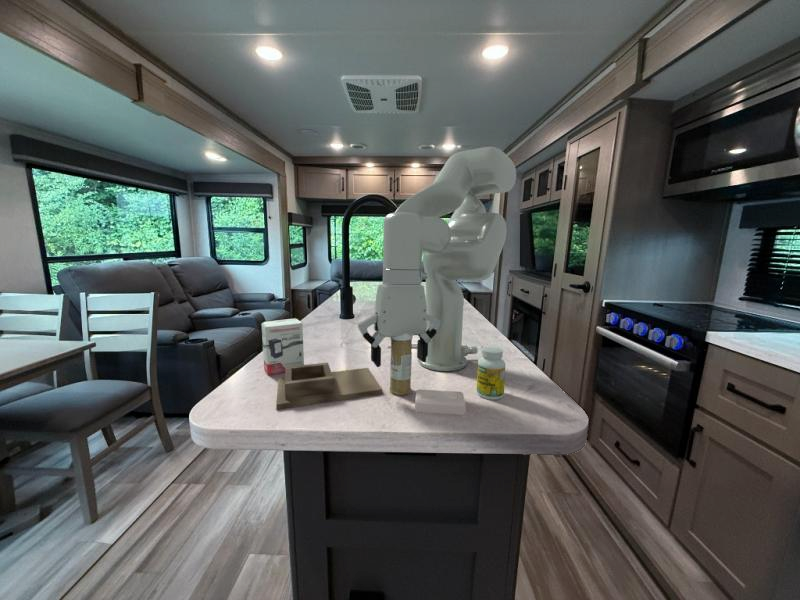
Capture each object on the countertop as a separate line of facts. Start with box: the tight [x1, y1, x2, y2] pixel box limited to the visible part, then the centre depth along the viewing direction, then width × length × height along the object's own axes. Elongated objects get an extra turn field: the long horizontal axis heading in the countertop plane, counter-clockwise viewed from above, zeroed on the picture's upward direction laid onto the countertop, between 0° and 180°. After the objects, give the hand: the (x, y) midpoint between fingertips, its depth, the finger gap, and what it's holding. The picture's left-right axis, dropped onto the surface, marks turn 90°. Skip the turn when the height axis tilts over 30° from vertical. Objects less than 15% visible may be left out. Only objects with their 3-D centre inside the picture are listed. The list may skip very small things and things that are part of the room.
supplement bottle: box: [476, 346, 506, 401], centre depth 61 cm, size 5×5×10 cm
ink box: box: [261, 318, 305, 376], centre depth 73 cm, size 8×5×12 cm, turn 123°
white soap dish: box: [414, 388, 466, 416], centre depth 57 cm, size 5×9×2 cm, turn 84°
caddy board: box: [275, 362, 383, 410], centre depth 64 cm, size 20×12×4 cm, turn 110°
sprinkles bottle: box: [389, 333, 414, 396], centre depth 62 cm, size 5×5×14 cm
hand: (399, 362), depth 62 cm, fingers open, 9 cm apart
